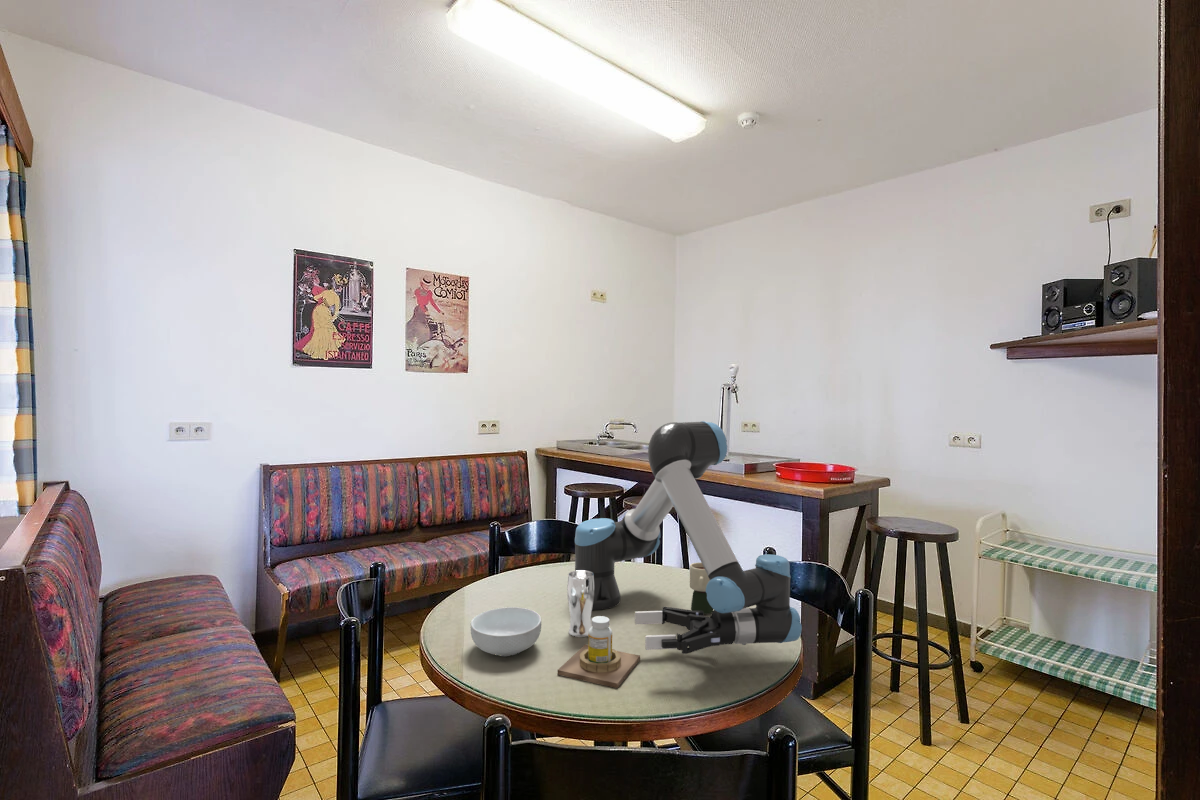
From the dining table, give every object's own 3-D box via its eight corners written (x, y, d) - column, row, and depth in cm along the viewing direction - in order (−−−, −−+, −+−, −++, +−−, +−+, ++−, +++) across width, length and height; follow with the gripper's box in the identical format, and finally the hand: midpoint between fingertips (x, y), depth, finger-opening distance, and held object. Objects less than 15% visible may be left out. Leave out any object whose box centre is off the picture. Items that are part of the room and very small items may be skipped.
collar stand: (557, 674, 124) (557, 663, 124) (584, 648, 137) (585, 638, 137) (617, 688, 118) (617, 676, 118) (640, 659, 131) (640, 649, 131)
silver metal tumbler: (573, 640, 141) (574, 579, 141) (562, 629, 147) (563, 572, 147) (598, 635, 144) (599, 575, 144) (586, 625, 151) (587, 568, 150)
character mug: (714, 620, 154) (714, 572, 154) (687, 617, 156) (688, 570, 156) (715, 606, 165) (716, 561, 165) (691, 603, 167) (691, 559, 167)
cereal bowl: (464, 640, 141) (464, 612, 141) (529, 630, 147) (530, 602, 147) (478, 671, 125) (478, 639, 125) (550, 658, 132) (550, 627, 131)
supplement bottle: (601, 670, 124) (601, 626, 124) (583, 662, 127) (583, 619, 127) (616, 661, 128) (617, 618, 128) (598, 654, 131) (599, 612, 131)
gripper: (751, 668, 118) (650, 673, 116) (714, 621, 143) (631, 624, 141) (752, 632, 118) (650, 636, 116) (715, 591, 143) (631, 593, 141)
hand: (639, 629), depth 128 cm, fingers open, 13 cm apart
